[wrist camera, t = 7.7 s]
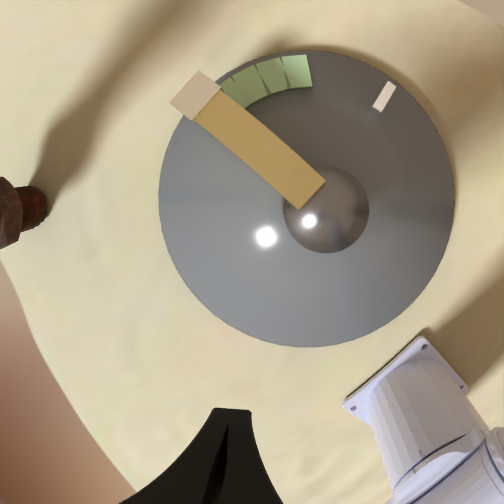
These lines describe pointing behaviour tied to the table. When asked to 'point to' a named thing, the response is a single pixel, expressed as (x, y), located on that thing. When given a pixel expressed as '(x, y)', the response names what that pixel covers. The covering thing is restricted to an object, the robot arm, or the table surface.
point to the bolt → (19, 211)
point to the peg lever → (282, 170)
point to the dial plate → (269, 199)
